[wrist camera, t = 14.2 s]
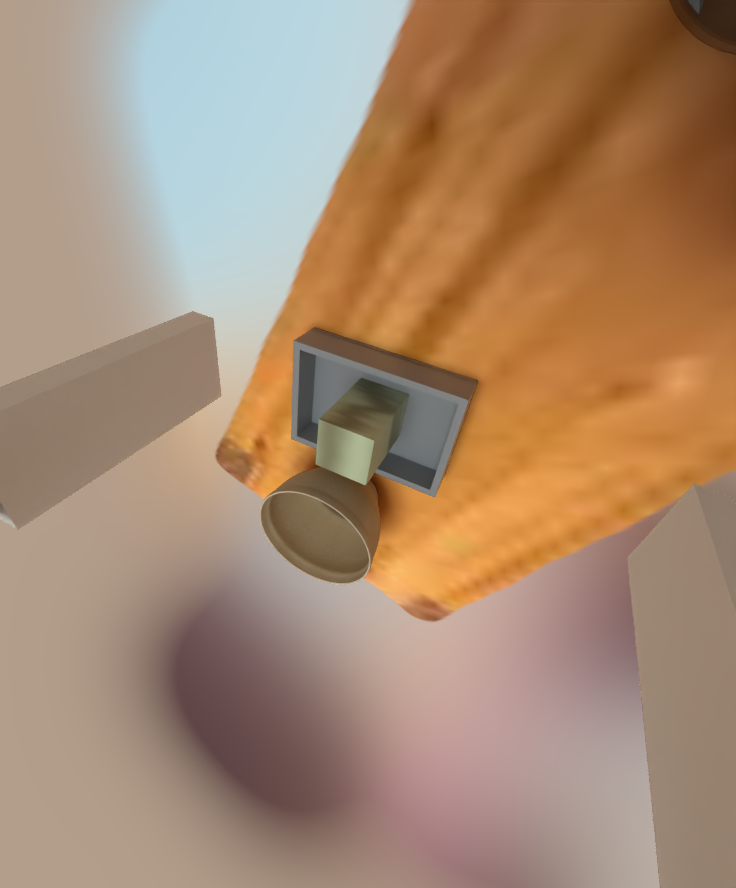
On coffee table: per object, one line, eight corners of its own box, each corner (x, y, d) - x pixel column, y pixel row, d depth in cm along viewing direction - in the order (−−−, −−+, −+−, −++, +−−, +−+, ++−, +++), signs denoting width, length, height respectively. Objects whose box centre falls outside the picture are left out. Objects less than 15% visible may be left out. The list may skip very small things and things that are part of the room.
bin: (478, 380, 42) (468, 400, 39) (444, 474, 51) (434, 497, 47) (314, 327, 47) (293, 340, 44) (309, 421, 56) (291, 438, 52)
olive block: (409, 394, 46) (374, 440, 38) (399, 435, 49) (365, 485, 42) (361, 377, 47) (318, 419, 40) (355, 419, 51) (315, 464, 43)
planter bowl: (291, 492, 66) (250, 539, 58) (317, 422, 55) (271, 468, 47) (376, 546, 64) (345, 602, 56) (419, 485, 54) (389, 543, 45)
